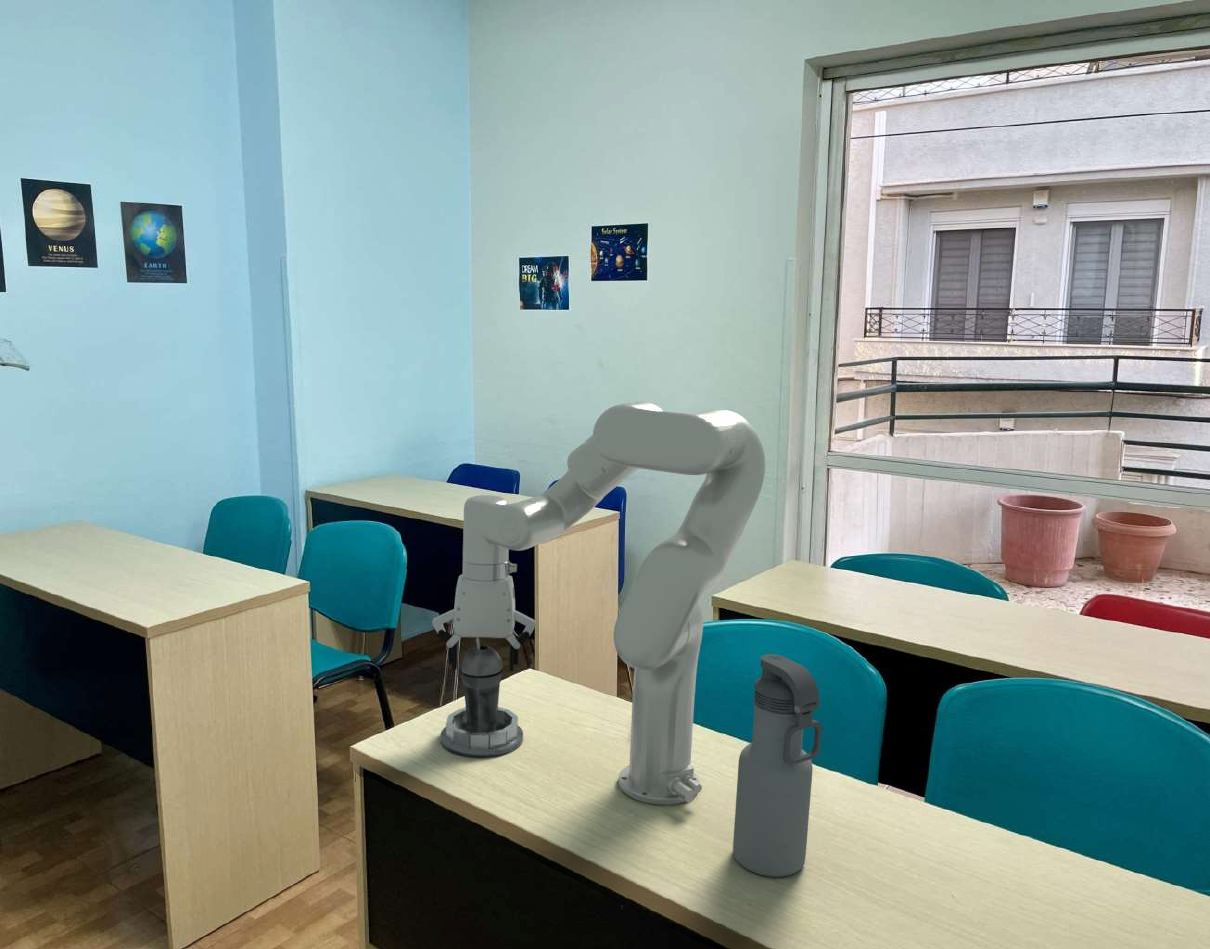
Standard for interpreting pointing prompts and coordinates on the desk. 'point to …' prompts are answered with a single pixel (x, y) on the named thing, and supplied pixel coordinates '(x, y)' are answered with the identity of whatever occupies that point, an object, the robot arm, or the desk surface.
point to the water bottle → (777, 771)
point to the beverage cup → (481, 687)
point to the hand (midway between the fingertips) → (483, 667)
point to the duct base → (481, 752)
